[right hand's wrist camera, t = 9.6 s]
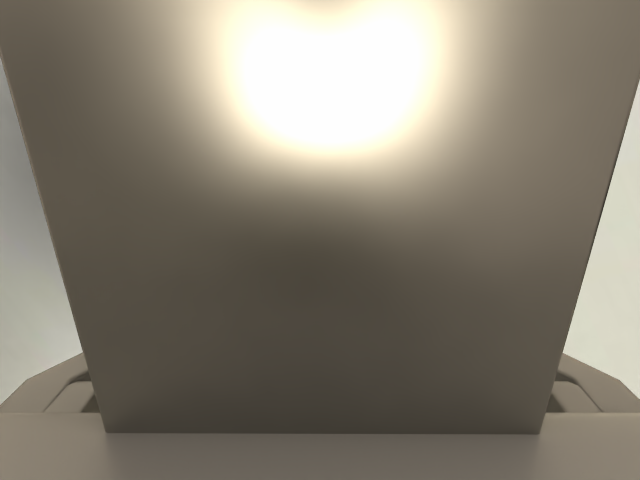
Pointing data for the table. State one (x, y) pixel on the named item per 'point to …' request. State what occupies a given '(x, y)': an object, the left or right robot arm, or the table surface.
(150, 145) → the bar
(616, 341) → the table surface
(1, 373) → the table surface
